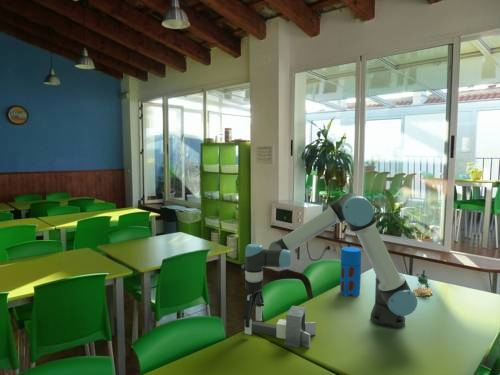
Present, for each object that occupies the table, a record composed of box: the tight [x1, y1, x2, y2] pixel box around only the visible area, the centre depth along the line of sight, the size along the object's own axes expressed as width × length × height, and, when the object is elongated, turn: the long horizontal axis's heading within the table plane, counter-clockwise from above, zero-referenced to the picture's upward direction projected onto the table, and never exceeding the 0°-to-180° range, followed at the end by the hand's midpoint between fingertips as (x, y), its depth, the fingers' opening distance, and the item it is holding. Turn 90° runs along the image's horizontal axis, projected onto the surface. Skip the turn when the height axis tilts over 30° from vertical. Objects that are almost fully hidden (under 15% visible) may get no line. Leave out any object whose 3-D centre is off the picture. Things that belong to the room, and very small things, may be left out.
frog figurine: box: [412, 268, 434, 297], centre depth 208 cm, size 10×18×15 cm, turn 122°
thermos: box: [339, 246, 362, 297], centre depth 207 cm, size 11×11×25 cm
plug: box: [251, 318, 286, 340], centre depth 161 cm, size 18×5×6 cm, turn 69°
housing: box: [283, 305, 317, 349], centre depth 155 cm, size 10×15×12 cm
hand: (253, 326), depth 163 cm, fingers open, 13 cm apart
